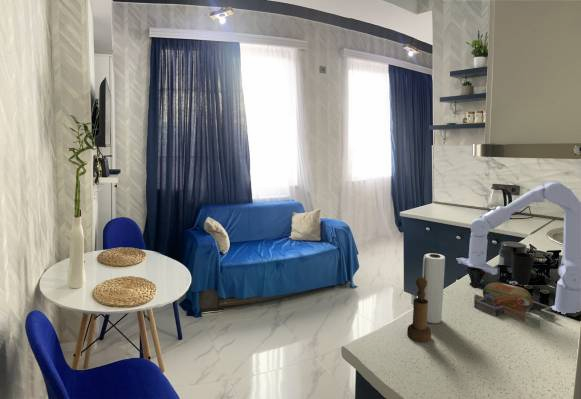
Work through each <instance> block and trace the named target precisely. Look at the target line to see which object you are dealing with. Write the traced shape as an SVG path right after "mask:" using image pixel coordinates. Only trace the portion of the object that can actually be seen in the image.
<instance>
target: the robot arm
mask: <svg viewBox="0 0 581 399" xmlns="http://www.w3.org/2000/svg"><path fill="white" fill-rule="evenodd" d="M545 200H546V201H548V202H550V203H552V204H555V205H557V206H559V207H560V208H561V209H562V210H563V213H564V214H563V240H562V242H563V244H562V245H563V246H562V247H563V248H562V257H561V262H560V264H559V266H558V269H557V273H558V275H559V276H560V278H559V280H557V281H556V282H557V283H556V290H555V301H554V305H552V306H550V307H552V311H554V312H556V311H557V313H559V312H561V313H560V314H562V315H565V314H566V313H576V312H580V311H581V201H580V200H579V198H578V197H577V196H576V195H575V193H574V192H573V191H572V190H571V188H568V187H567V186H566V185H564V184H562V183H561V182H559V181H556V180H548V181H546V182H545V183H543V184H540V185H538V186H536V187H534V188H532V189H530V190H529V191H527V192H526V193H524V194H523V195H521V196H518V198H516V199H515V200H513V201H511V202H510V203H508V204H507V205H506V206H505V205H504V206H502V205H498V206H495V205H494V206H492V207H491V210H489V211H488V212H486V213H484V214H480V215H479V216H478V217H477V218H474V219H473V220H472V221H471V224H470V232H471V233H470V238H469V250H468V258H465V257H459V258H458V257H457V258H458V259H457V263H458V264H462V265H465V266H467V268H466V269H465V270H466V273H467V274H468V276H469V280H470V283H471V288H474V289H478V288H479V287H480V284H481V282H482V280H483V278H484V276H486V274H487V273H489V274H491V275H498V268H496V267H494V266H492V265H490V264H488V263H487V254H488V241H489V240H488V234H489V233H490V230H494V229H495V228H497V227H499V226H501V225H502V224H504V223H506V222H508V221H510V220H511V215H512V214H515V213H516V212H519V210H522V209H524V208H526V207H527V206H529V205H531V204H533V203H545Z"/></svg>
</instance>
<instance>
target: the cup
mask: <svg viewBox="0 0 581 399" xmlns="http://www.w3.org/2000/svg"><path fill="white" fill-rule="evenodd" d="M511 258H512V274H511V280H512V279H513V280H515V281H517V282H518V283H520V284H523V285H526V284H528V283H530V279H531V275H532V270H533V264H534V260H535V255H533V254H530V253H528V252H527V253H522V252H514V253H512V254H511ZM528 285H529V284H528Z"/></svg>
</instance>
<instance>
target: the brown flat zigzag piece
mask: <svg viewBox="0 0 581 399" xmlns="http://www.w3.org/2000/svg"><path fill="white" fill-rule="evenodd" d="M473 298H474V299H473V304H474V305H473V306H474V308H475V309H477V310H480V311H482V312H484V313H487V314H489V315H491V316H494V317H499V316H502V315H506V316H508V317H511V318H513V319H515V320H518V321H520V322H522V323H525V324H527V325H529V326H532V327H534V328H537V329H539V328H541V323H542V322H541V319H539V318H542V319H544V320H545V321H546V320H547V321H549V322H551V323H555V321H556V320H555V319H556V313H554V312H553V310H552V307H551V306H548V305H547V304H543V303H541V302H537V301H535V300H533V305H532V307H531V308H530V310H529V311H528V312H529V313H531V314H534V315H537V316H539V318H537V317H534V316H532V315H529V314H527V313H526V312H525V313H522V312H520V311H517V310H515V309H512V308H510V307H507V306H505V305H502V306H499V307H494V306H491V305H490V304H488V303H487V302H486V301H487V298H484V297H483V295H480V294H474V297H473Z"/></svg>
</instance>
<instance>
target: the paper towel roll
mask: <svg viewBox="0 0 581 399" xmlns="http://www.w3.org/2000/svg"><path fill="white" fill-rule="evenodd" d="M422 261H423V262H422V277H423V278H425V279H426V280H427V286H426V287H425V289H424V292H425V297H424V299H426V300H427V301H428V310H427V323H429V324H439V323H441V322H442V318H443V316H442V315H443V302H444V301H443V300H444V283H445V282H444V281H445V270H446V269H445V267H446V257H445V255H443V254H440V253H425V254H424V255H423V260H422Z"/></svg>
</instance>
